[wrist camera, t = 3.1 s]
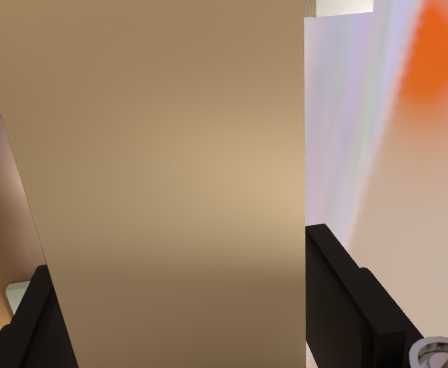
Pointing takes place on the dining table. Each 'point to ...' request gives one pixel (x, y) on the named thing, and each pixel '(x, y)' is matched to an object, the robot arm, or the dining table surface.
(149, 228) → the rail
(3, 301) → the dining table surface
